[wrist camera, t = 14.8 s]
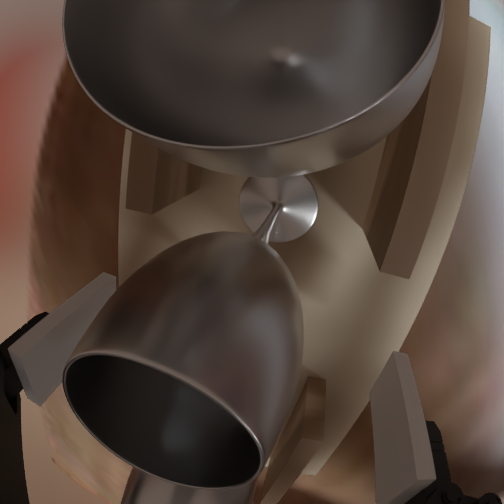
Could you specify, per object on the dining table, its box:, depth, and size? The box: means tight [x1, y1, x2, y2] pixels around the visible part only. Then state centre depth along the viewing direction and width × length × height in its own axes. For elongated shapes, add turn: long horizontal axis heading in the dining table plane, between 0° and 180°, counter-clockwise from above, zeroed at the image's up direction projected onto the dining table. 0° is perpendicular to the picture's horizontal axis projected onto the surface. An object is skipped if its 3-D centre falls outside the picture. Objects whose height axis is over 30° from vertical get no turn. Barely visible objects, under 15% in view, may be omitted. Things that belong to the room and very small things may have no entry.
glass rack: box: [118, 0, 491, 504], centre depth 15 cm, size 18×36×6 cm, turn 169°
